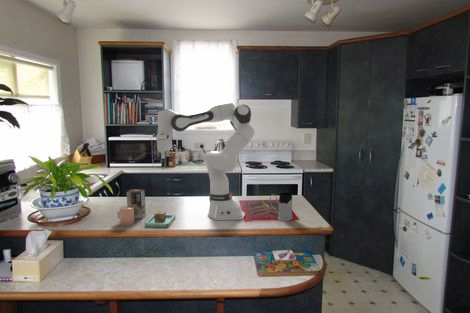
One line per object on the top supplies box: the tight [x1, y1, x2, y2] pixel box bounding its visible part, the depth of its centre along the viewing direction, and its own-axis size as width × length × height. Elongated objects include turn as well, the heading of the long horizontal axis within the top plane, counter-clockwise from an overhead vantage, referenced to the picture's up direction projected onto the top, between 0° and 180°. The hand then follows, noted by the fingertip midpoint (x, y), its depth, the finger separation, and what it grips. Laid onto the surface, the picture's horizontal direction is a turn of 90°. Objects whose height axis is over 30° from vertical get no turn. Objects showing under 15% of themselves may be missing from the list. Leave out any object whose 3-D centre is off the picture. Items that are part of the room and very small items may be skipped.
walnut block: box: [153, 210, 167, 223], centre depth 187 cm, size 5×5×5 cm
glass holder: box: [269, 192, 293, 222], centre depth 195 cm, size 9×14×15 cm, turn 64°
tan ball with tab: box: [116, 205, 135, 227], centre depth 184 cm, size 9×8×9 cm
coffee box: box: [126, 188, 147, 219], centre depth 195 cm, size 9×6×16 cm
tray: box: [144, 213, 176, 228], centre depth 187 cm, size 13×16×2 cm
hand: (165, 157), depth 205 cm, fingers open, 8 cm apart
